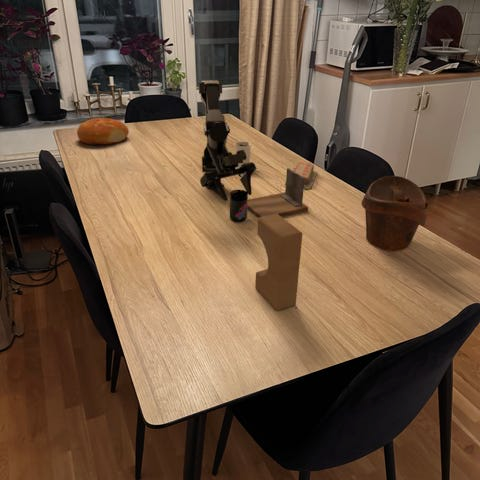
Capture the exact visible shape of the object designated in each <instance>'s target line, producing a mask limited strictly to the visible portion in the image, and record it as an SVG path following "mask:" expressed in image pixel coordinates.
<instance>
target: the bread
mask: <svg viewBox="0 0 480 480" xmlns="http://www.w3.org/2000/svg"><path fill="white" fill-rule="evenodd" d="M129 131H130V130H129V127H128V126H127V125H126V124H125V123H124V122H122V121H121V120H116V119H113V118H109V117H108V118H106V117H95V118H92V119H91V118H90V119H89V120H86V121H84V122H82V123H80V125H79V126H78V127H77V130H76V132H77V133H76V135H77V137H78V139H79V140H80V141H81V143H83V144H87V145H90V146H93V145H113V144H117V143H120V142H122V141H124V140H126V138H127V137H128V136H129Z"/></svg>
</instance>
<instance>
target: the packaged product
mask: <svg viewBox="0 0 480 480" xmlns="http://www.w3.org/2000/svg"><path fill="white" fill-rule="evenodd" d="M314 168H315V165H314V164H313V163H310V162H303V161H301V162H300V161H299V162H298V163H297V165H296V167H293V168H292V169H291V170H292V171H294V172H296V173H297V174H299V175H301V176H302V177H304V178H305V179H304V189H305V190H311V188H312V186H313V183H314V181H315V180H316V177H317V173H318V171H315V170H314ZM284 185H285V187H286V182H285V184H284Z"/></svg>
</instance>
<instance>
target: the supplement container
mask: <svg viewBox="0 0 480 480" xmlns="http://www.w3.org/2000/svg"><path fill="white" fill-rule="evenodd" d="M248 199H249V194H248V192H247V191H246V190H244V189H233V190H230V192H229V219H230V221H233V222H236V223H241V222H245V221H246V220H247V219H248V209H247V203H248Z"/></svg>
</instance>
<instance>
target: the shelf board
mask: <svg viewBox="0 0 480 480" xmlns="http://www.w3.org/2000/svg"><path fill="white" fill-rule="evenodd" d="M292 170H293V169H291V168H289V167H287V168H286V178H285V183H286V186H285V191H284V192H280V193H279V192H278V193H273V194H270V195H264V196H260V197H254V198H250V199H249V198H248V203H247V211H249V212H250V213H251V214H253V216H255V217H256V218H257V219H258V218H259V217H263V216H267V215H272V214H278V215H280V216H281V217H282V218H284V217H287V216H291V215H296V214H301V213H304V212H305V213H306V212H308V211H309V206H308V205H306V204H304V203H303V198H304V189H305V188H304V179H305V178H304V177H302V176H301V175H299V174H297V173H296V172H294V171H292Z"/></svg>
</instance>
